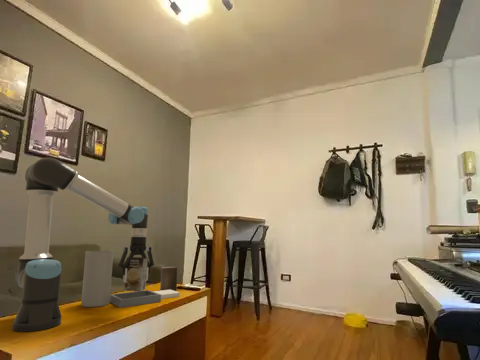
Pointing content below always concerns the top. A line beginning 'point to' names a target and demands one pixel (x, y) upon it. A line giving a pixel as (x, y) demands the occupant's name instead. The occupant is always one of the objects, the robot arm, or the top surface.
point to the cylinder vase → (97, 278)
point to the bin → (134, 298)
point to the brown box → (168, 278)
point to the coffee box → (136, 274)
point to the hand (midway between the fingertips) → (135, 281)
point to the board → (168, 293)
